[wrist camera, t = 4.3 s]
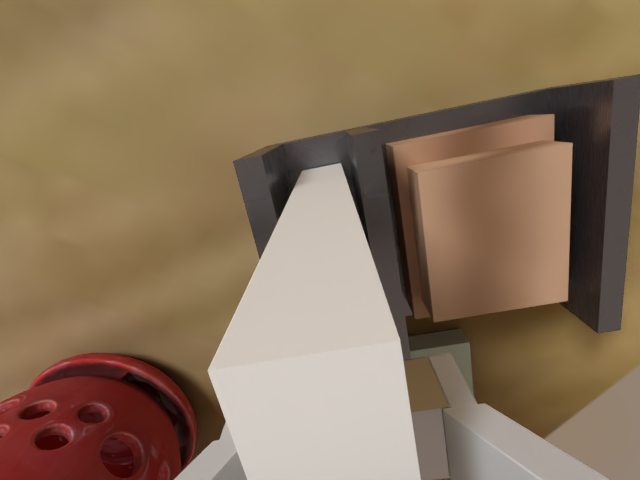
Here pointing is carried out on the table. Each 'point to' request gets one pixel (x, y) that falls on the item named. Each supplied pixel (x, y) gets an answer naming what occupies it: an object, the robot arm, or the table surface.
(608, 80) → the offcut rack
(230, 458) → the robot arm
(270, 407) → the tall sheet
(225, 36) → the table surface
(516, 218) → the offcut upper
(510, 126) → the offcut lower
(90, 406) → the plant pot
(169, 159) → the table surface
